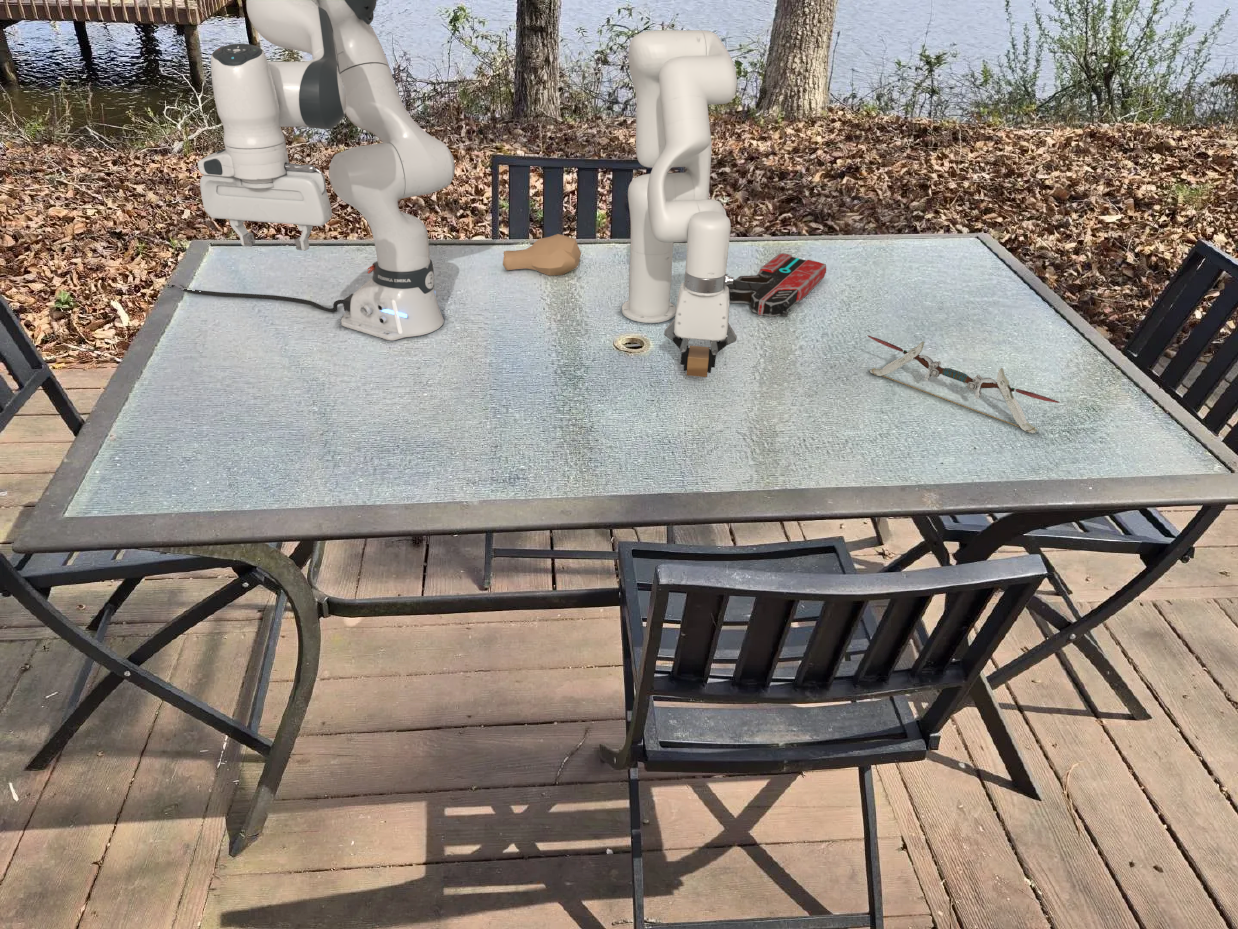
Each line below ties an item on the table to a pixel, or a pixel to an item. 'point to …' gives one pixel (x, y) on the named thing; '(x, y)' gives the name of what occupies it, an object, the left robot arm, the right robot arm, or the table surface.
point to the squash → (546, 256)
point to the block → (698, 361)
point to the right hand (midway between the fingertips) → (697, 368)
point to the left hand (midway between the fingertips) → (275, 247)
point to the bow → (972, 384)
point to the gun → (777, 285)
